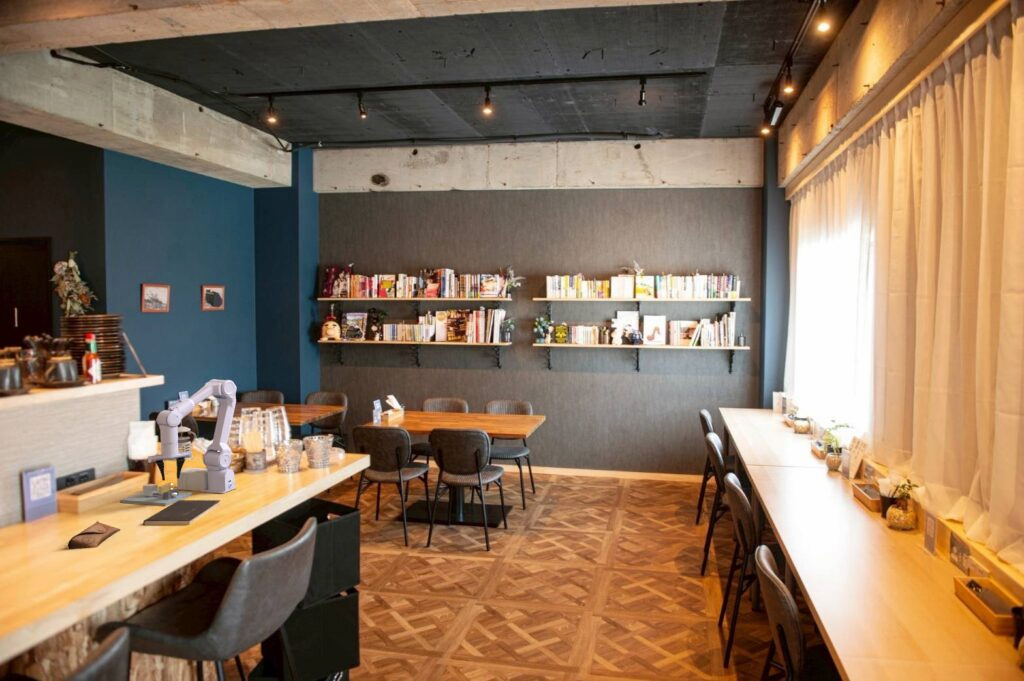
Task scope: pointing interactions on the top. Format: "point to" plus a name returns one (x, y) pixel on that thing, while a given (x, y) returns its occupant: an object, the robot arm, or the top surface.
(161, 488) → the ball knob lever
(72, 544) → the sunglasses case
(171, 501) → the board
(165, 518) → the hardcover book
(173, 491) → the grey block
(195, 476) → the supplement box
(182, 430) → the french press
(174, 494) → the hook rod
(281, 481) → the top surface
